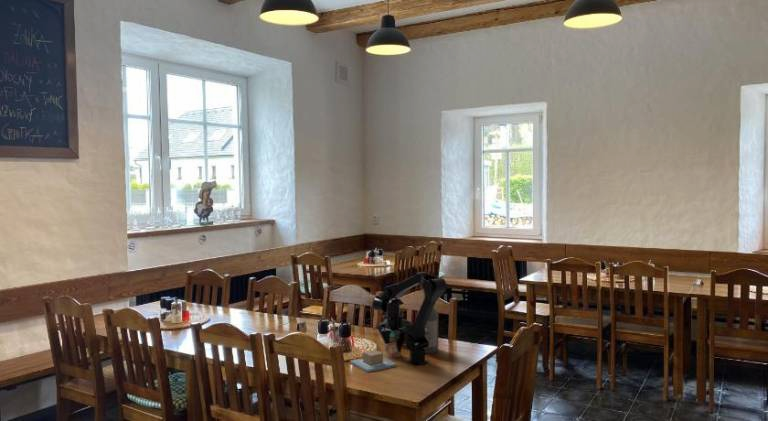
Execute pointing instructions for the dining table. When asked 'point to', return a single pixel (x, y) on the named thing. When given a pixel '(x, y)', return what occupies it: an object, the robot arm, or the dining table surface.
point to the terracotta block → (392, 350)
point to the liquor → (431, 331)
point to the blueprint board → (368, 369)
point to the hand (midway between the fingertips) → (393, 349)
